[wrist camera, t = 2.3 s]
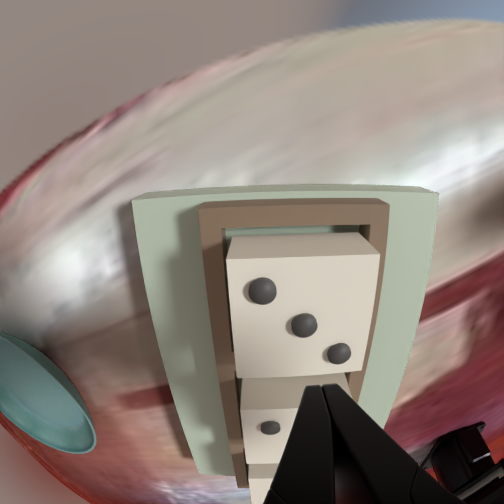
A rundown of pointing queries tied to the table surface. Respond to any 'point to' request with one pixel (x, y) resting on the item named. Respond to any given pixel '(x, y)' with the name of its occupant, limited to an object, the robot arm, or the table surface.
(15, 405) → the saucer
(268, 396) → the two-pip key
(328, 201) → the board
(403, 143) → the table surface
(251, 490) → the one-pip key
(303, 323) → the three-pip key
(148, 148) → the table surface
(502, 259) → the table surface
